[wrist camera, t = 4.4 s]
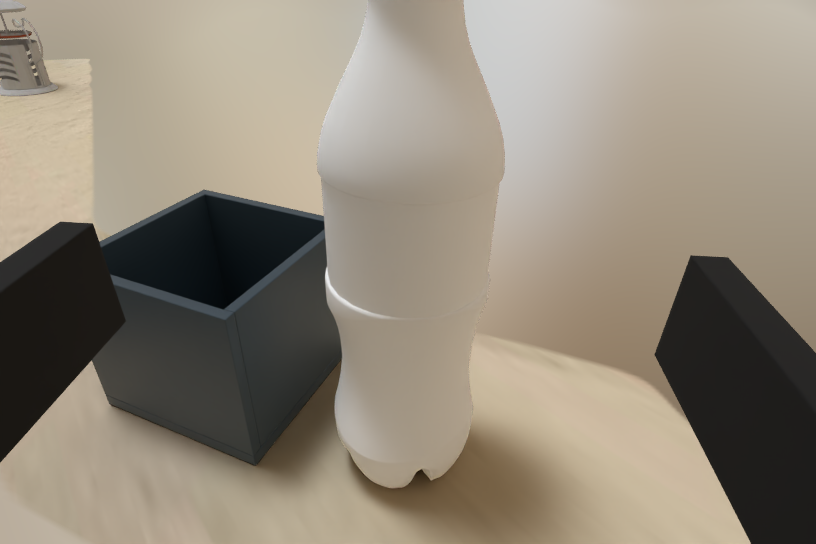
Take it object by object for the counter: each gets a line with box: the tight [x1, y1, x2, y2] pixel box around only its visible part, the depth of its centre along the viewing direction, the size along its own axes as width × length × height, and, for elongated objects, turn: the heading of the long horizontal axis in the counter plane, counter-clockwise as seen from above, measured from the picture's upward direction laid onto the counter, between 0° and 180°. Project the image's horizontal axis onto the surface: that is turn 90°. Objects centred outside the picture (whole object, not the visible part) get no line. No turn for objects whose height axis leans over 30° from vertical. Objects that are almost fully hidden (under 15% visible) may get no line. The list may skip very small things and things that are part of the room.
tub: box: [92, 190, 342, 465], centre depth 30 cm, size 11×11×10 cm
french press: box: [0, 0, 58, 96], centre depth 89 cm, size 10×12×25 cm
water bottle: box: [317, 0, 505, 488], centre depth 22 cm, size 7×7×25 cm
